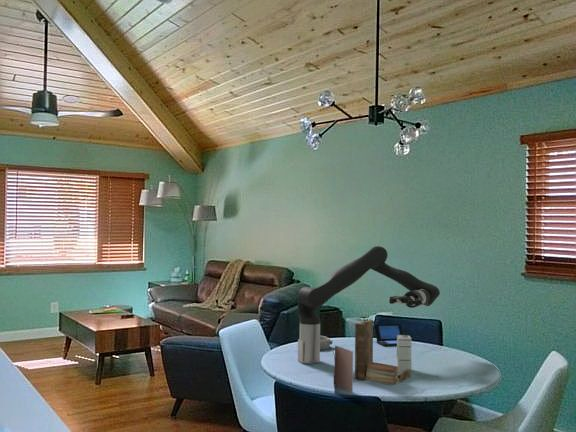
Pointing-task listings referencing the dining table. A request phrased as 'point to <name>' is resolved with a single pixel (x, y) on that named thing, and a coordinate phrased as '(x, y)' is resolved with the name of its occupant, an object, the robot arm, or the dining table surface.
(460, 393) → the dining table surface
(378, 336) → the handheld game console
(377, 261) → the robot arm
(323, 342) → the dish
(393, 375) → the offcut stack
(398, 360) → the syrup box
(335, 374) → the greeting card
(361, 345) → the walnut rack
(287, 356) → the dining table surface
